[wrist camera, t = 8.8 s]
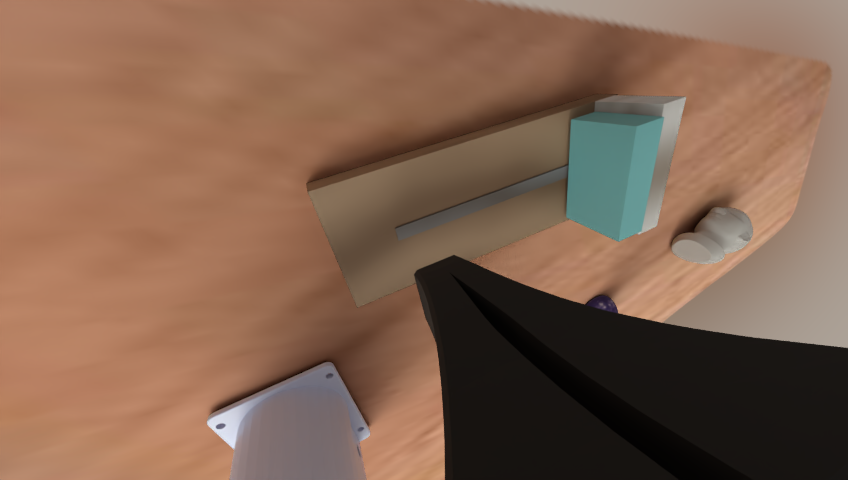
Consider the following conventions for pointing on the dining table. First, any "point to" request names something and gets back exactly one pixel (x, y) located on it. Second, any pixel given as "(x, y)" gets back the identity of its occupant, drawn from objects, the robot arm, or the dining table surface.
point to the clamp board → (468, 193)
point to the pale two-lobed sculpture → (714, 236)
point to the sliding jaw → (611, 171)
